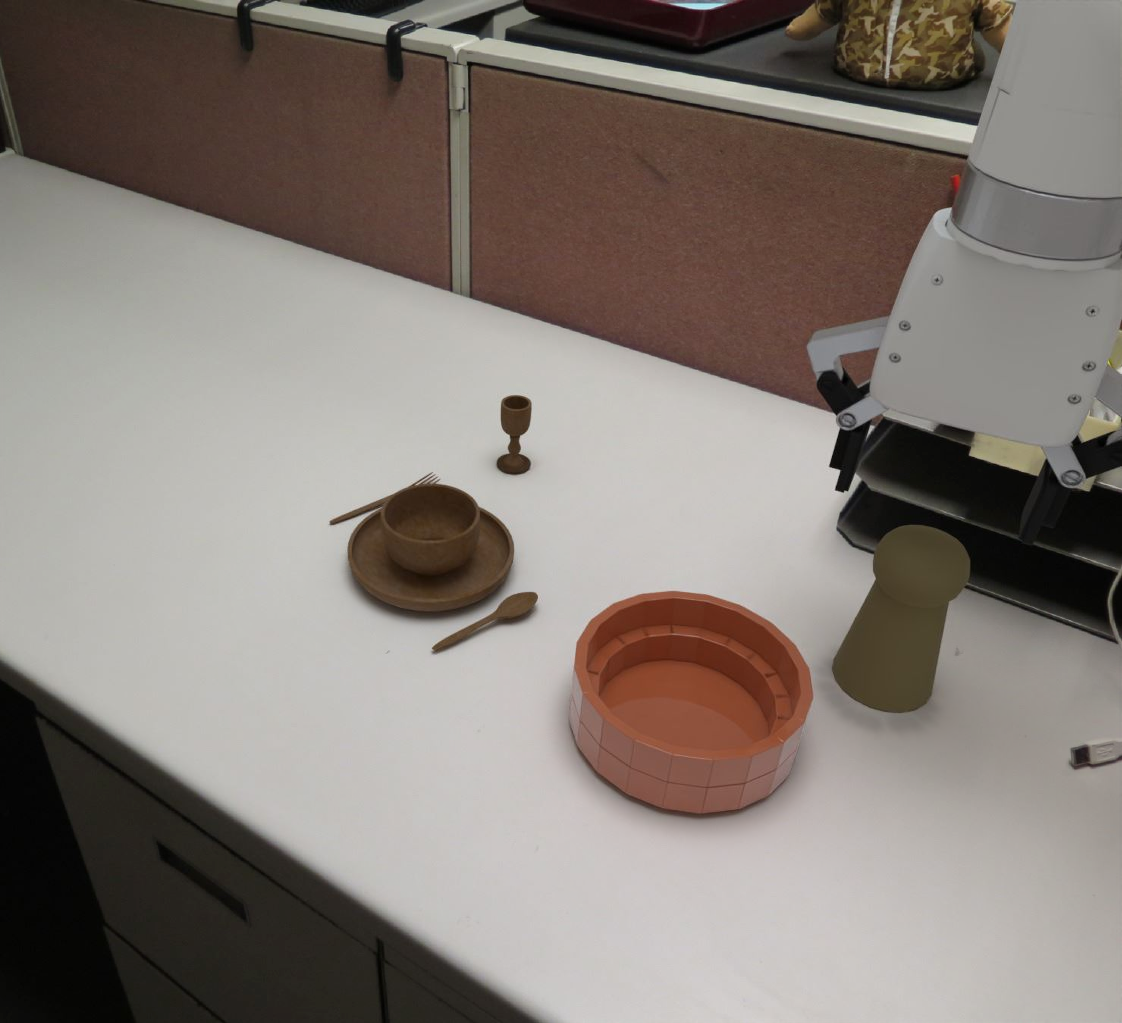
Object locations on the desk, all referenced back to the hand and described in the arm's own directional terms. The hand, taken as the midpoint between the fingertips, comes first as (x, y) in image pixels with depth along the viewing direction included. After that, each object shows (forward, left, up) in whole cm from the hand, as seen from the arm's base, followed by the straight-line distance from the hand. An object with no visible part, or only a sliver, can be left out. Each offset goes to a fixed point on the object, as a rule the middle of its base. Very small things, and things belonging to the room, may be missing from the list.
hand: (933, 504), depth 59 cm
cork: (0, 0, -14) cm, 14 cm away
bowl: (+10, +10, -14) cm, 19 cm away
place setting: (+29, 0, -14) cm, 32 cm away
